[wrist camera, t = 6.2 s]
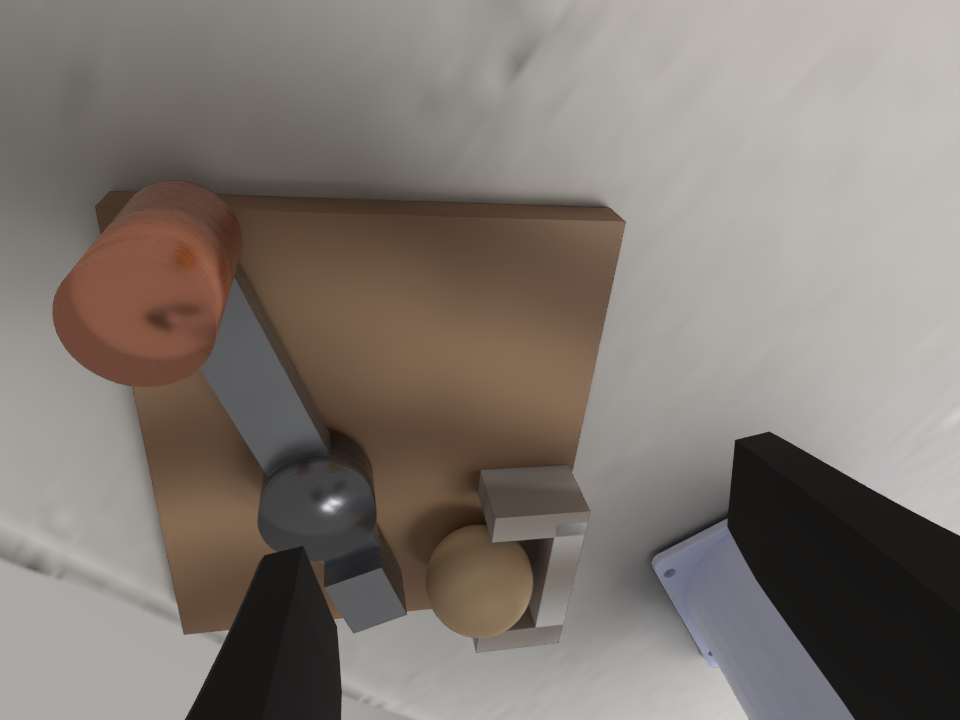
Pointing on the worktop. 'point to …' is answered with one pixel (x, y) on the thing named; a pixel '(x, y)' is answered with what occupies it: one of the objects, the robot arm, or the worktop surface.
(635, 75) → the worktop surface
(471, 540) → the tan ball
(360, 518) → the lever
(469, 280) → the nutcracker base
